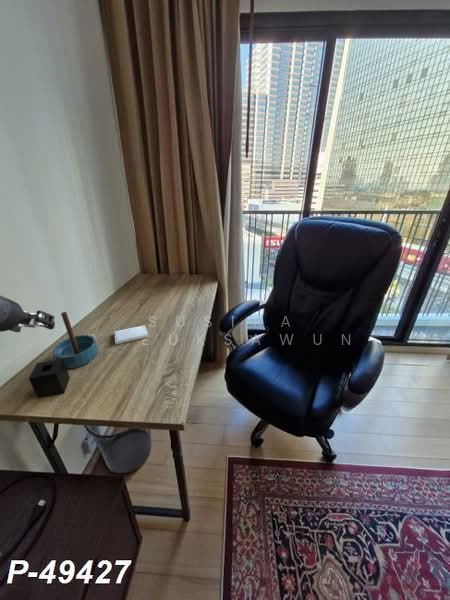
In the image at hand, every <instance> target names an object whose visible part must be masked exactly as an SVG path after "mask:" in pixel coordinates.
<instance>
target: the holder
mask: <svg viewBox="0 0 450 600" xmlns="http://www.w3.org/2000/svg"><path fill="white" fill-rule="evenodd" d="M70 379H71V377H70V374H69V371H68V368H66V366H65V363H64V361H63V359H58V360H55V359H52V360H47V361H41V362H37V363H36V365H35V367H34V368H33V370H32V372H31V374H30V375H29V377H28V381H29V382H30V385H31V387H32V389H33V391H34V393H35V395H36V398H37V399H44V398H48V397H49V398H50V397H53V396H58V395H63V394H65V392H66V390H67V388H68V384H69V382H70Z"/></svg>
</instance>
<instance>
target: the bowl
mask: <svg viewBox="0 0 450 600" xmlns="http://www.w3.org/2000/svg"><path fill="white" fill-rule="evenodd" d="M74 336H75V339H76V342H77V345H78V348H79V351H80V353H79V354H76V355H75V353H74V350H73V347H72V344H71V341H70V338H69V337H68V338H66V339H64V340H61V341H60V342H59V343H57V345H55V346H54V347H53V349H52V354H53V357H54V360H58V359H63V361H64V363H65V366H66V369H76V368H81V367H83V366H85V365H86V364H89V363H90V362H92V360H94V359H95V358H96V357H97V355H98V353H99V349H98V345H97V341H96V338H95V337H93V335H88V334H79V335H74Z"/></svg>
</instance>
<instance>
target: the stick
mask: <svg viewBox="0 0 450 600" xmlns="http://www.w3.org/2000/svg"><path fill="white" fill-rule="evenodd" d="M60 315H61V318H62V321H63V324H64V326H65V329H66V332H67V335H68V338H70V341H71V344H72V347H73V350H74V353H75V355H76V354H79V353H80V351H79V348H78V345H77V342H76V339H75V336H76V335H75V334H74V330H73V326H72V325H71V321H70V318H69V316H68V312H67V311H62V312H61V313H60Z"/></svg>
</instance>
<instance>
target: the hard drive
mask: <svg viewBox="0 0 450 600" xmlns="http://www.w3.org/2000/svg"><path fill="white" fill-rule="evenodd" d="M148 337H149V335H148V330H147V327H146V325H140V326H134V327H130V328H124V329H121V330H115V331H114V343H115V345H120V344H124V343H129V342H132V341H137V340H141V339H145V338H148Z"/></svg>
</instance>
